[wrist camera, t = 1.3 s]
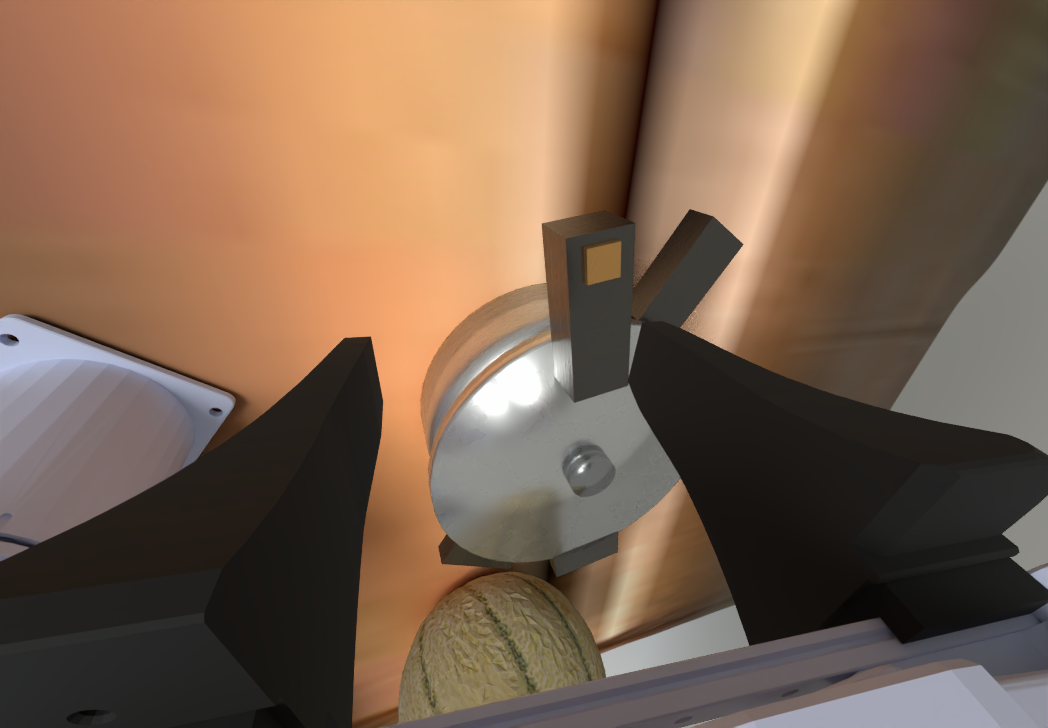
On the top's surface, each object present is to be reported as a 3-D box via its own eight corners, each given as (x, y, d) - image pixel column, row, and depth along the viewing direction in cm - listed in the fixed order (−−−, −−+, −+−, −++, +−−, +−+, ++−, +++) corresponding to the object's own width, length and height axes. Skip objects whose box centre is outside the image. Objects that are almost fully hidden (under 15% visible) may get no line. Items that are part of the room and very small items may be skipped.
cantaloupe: (349, 612, 31) (346, 928, 19) (510, 505, 31) (608, 757, 19) (456, 657, 40) (499, 893, 28) (581, 574, 40) (678, 775, 28)
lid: (680, 510, 29) (711, 549, 27) (468, 597, 26) (480, 650, 23) (737, 174, 17) (805, 186, 14) (343, 256, 13) (340, 292, 11)
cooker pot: (542, 521, 33) (567, 577, 29) (357, 492, 26) (357, 564, 22) (736, 269, 27) (803, 298, 23) (565, 124, 19) (622, 129, 15)
